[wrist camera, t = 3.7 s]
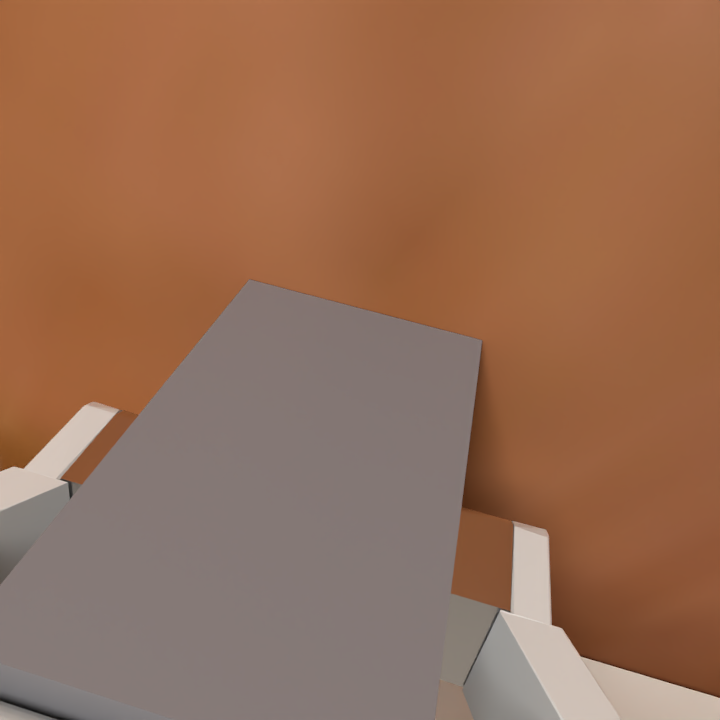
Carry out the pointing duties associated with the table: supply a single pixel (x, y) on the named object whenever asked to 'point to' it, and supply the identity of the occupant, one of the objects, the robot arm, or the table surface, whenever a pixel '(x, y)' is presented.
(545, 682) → the robot arm
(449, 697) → the socket plate
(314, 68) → the table surface
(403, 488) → the plug
